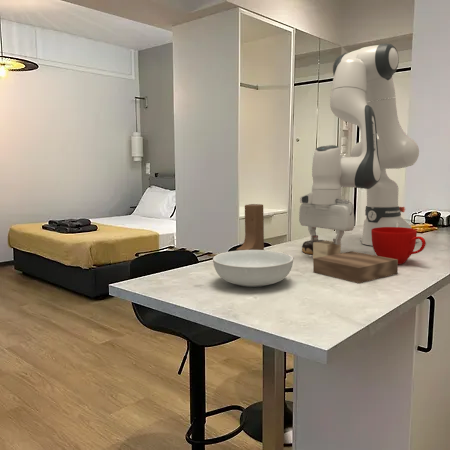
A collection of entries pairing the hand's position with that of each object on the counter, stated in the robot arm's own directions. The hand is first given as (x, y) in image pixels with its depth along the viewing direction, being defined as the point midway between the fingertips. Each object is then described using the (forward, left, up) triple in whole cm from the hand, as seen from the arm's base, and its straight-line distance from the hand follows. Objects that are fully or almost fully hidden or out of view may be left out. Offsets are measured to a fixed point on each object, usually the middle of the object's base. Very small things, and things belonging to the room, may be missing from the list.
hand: (325, 242), depth 141 cm
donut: (-10, -12, -6) cm, 17 cm away
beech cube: (-1, 0, -6) cm, 6 cm away
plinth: (+5, +16, -6) cm, 18 cm away
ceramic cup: (-15, +16, -6) cm, 23 cm away
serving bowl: (+33, +6, -6) cm, 34 cm away
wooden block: (+17, -16, -6) cm, 24 cm away
